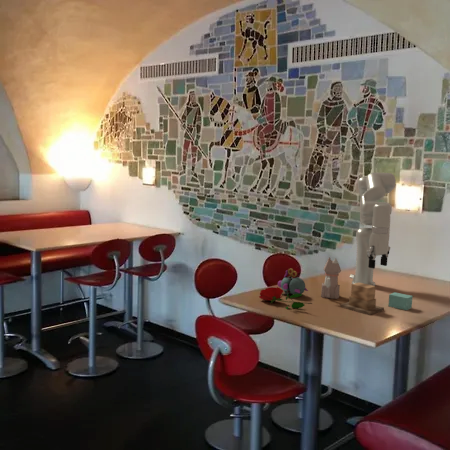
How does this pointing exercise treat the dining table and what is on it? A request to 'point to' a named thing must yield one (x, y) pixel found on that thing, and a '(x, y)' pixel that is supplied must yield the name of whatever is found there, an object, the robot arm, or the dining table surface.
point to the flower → (275, 293)
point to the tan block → (363, 291)
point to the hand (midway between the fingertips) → (377, 266)
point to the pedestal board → (371, 311)
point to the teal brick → (400, 301)
